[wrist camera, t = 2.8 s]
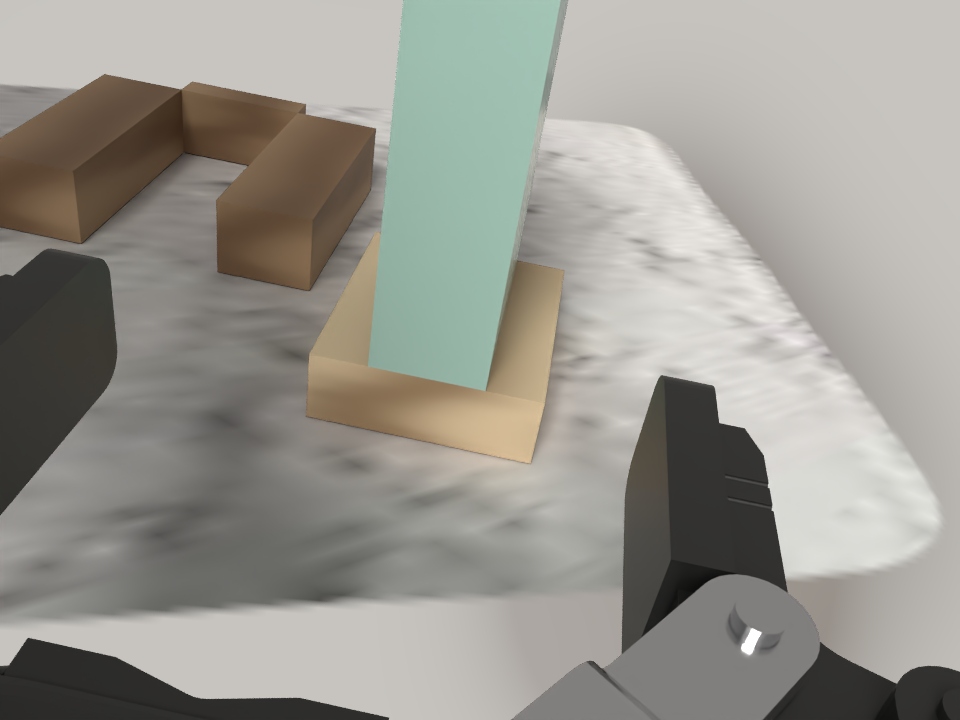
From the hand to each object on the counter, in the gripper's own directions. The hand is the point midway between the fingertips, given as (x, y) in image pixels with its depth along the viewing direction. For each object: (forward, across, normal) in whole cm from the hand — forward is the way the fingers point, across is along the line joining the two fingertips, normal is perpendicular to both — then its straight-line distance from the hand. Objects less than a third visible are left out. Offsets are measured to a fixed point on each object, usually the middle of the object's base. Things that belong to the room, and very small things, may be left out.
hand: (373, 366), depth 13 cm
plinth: (+11, 0, +8) cm, 14 cm away
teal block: (+11, 0, +6) cm, 13 cm away
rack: (+18, +10, +8) cm, 22 cm away
